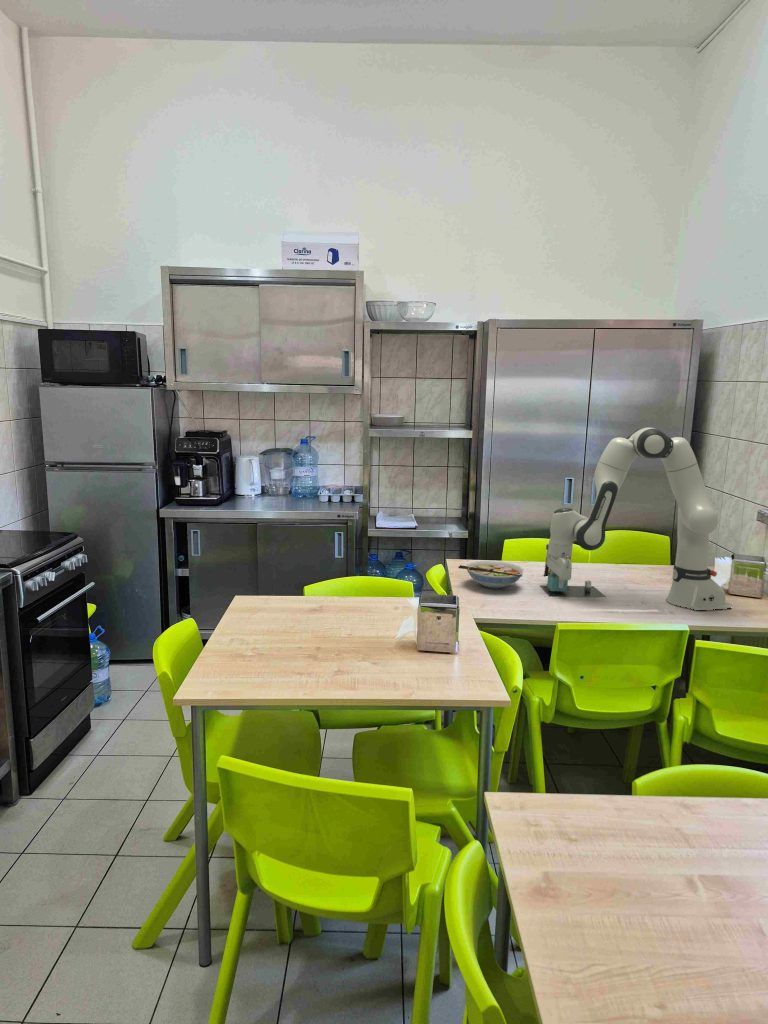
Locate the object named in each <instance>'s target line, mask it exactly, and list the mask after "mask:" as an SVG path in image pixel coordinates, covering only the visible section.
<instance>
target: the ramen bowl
mask: <svg viewBox="0 0 768 1024" xmlns="http://www.w3.org/2000/svg"><path fill="white" fill-rule="evenodd" d="M457 567H458V569H462V570H467V574H469V576H470V577H471V578H472V579H473V581H475V582H476V583H478V584H480V585H482V586H484V587H485V588H488V589H493V588H494V589H498V588H499V589H502V588H505V587H509V586H511V585H513V584H515V583H516V582H518V581H519V580H520V578H521V577H523V574H524V571H525V570H524V569H523V568H522V567H521V566H520V565H517V564H514V563H509V562H505V561H504V562H503V561H498V560H497V561H496V560H483V561H482V560H479V561H473V562H470V563H468V564H466V565H461V564H459V566H457ZM494 589H493V590H494Z"/></svg>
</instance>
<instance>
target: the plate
mask: <svg viewBox="0 0 768 1024" xmlns="http://www.w3.org/2000/svg"><path fill="white" fill-rule="evenodd" d="M555 578H559V577H558V576H556V577H555ZM539 587H540V588H541V590H542V591H544V592H545V594H546V595H547V596H548V597H553V598H554V597H555V598H558V597H559V598H561V597H563V598H607V596H606V595H605V594H603V592H602V591H600V590H598V588H597V587H595V586H594V585H592V581H591V580H585V581H584V585H567V591H551V590H550V589H549V588H548V587H547V585H539Z"/></svg>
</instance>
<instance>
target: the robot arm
mask: <svg viewBox="0 0 768 1024" xmlns="http://www.w3.org/2000/svg"><path fill="white" fill-rule="evenodd" d="M639 457H641V458H645V459H653V460H654V459H655V460H656V459H659V460H661V462H662V463H663V467H664V471H665V474H666V477H667V480H668V483H669V486H670V489H671V492H672V494H673V496H674V499H675V501H676V503H677V505H678V509H677V527H676V528H677V535H676V537H677V547H676V554H675V562H674V563H675V564H674V565H673V568H672V569H673V570H672V583H671V584H670V585H671V586H670V589H669V593H668V595H667V597H666V602H668V603H670V604H671V605H674V606H676V605H677V606H676V607H680V606H681V608H685V607H687V608H686V609H690V608H691V609H690V610H693V609H694V610H693V611H696V610H707V611H716V610H715V609H723V610H727V609H726V608H731V607H732V603H730V602H728V600H726V599H727V598H726V592H725V589H724V588H723V587H721V585H719V584H718V583H717V582H716V581H715V580H714V579H713V578H712V577H714V578H715V577H717V571H715V570H713V569H712V570H711V569H710V568H708V566H709V556H710V552H711V551H710V548H711V547H710V537H709V536H710V534H711V533H712V532H713V533H714V531H715V530H716V529H717V527H718V525H719V518H718V514H717V511H716V509H715V506H714V504H713V501H712V499H711V495H710V493H709V492H708V491H709V490H708V489H707V487H706V485H705V483H704V482H705V481H704V478H703V475H702V473H701V469H700V467H699V462H698V460H697V458H696V455H695V453H694V451H693V449H692V446H691V444H690V443H689V442H688V440H687V439H686V438H684V437H680V436H675V437H669V436H668V435H667V434H666V433H665V432H663V431H662V430H661V429H657V428H655V427H651V426H650V427H640V428H638V429H637V430H635V431H633V433H631V434H630V435H629V436H627V437H626V438H624V437H614V438H612V439H611V440H610V441H609V442H608V444H607V445H606V447H605V448H604V450H603V451H602V453H601V456H600V458H599V460H598V462H597V465H596V468H595V471H594V476H593V481H594V482H593V483H594V486H595V490H596V494H595V501H594V503H593V505H592V509H591V510H590V514H589V515H588V516H585V515H583V514H580V513H578V512H577V511H575V509H573V508H571V507H560V508H558V509H556V510H554V511H553V513H552V516H551V521H550V527H549V532H550V533H549V534H550V536H549V539H548V543H546V544H545V550H546V556H547V566H548V567H549V568H550V569H551V573H552V574H556V575H557V576H558V577H559V583H558V587H559V588H563V585H564V582H565V580H568V581H571V579H572V571H573V570H572V569H573V568H572V567H573V566H572V565H573V564H572V559H571V560H570V559H569V557H570V556H571V557H572V556H573V548H574V547H573V546H574V545H573V544H574V543H575V542H577V544H578V546H579V547H580V549H581V548H582V549H583V550H586V551H595V550H598V549H599V548H601V547H602V546H603V544H604V543H605V540H606V526H607V522H608V520H609V516H610V514H611V511H612V508H613V506H614V503H615V500H616V497H617V496H618V494H619V491H620V489H621V487H622V485H623V483H624V481H625V479H626V477H627V475H628V473H629V469H630V467H631V464H633V461H634V460H635V459H637V458H639ZM711 576H712V577H711ZM713 609H714V610H713ZM731 609H732V608H731Z"/></svg>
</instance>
